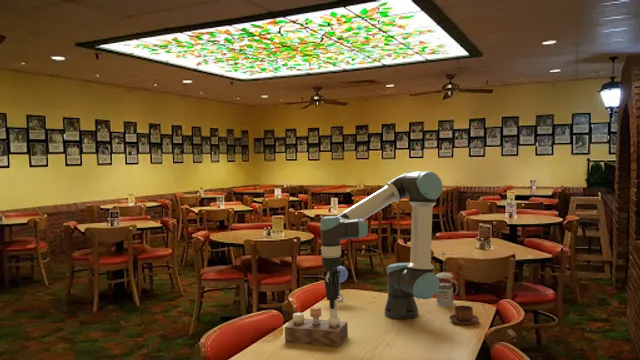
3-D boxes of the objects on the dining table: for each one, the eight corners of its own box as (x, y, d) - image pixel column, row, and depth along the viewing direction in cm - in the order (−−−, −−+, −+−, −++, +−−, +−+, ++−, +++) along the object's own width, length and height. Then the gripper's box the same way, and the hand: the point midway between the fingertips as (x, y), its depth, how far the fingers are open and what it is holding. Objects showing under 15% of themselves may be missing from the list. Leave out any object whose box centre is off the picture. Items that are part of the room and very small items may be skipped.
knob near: (341, 333, 192) (340, 315, 192) (338, 336, 188) (337, 318, 188) (331, 332, 194) (330, 314, 194) (327, 335, 190) (326, 318, 190)
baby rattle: (349, 298, 252) (347, 263, 252) (348, 303, 243) (347, 267, 243) (332, 298, 253) (331, 264, 252) (331, 303, 244) (329, 267, 244)
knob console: (347, 336, 196) (347, 321, 196) (338, 347, 184) (337, 331, 184) (297, 332, 203) (296, 317, 203) (285, 342, 192) (284, 327, 192)
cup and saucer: (480, 327, 201) (480, 312, 201) (450, 326, 203) (449, 311, 203) (477, 318, 213) (476, 304, 213) (448, 317, 215) (448, 303, 215)
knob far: (306, 330, 198) (305, 313, 198) (302, 333, 194) (301, 316, 193) (296, 329, 199) (295, 312, 199) (291, 332, 195) (291, 315, 195)
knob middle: (323, 324, 195) (322, 306, 195) (319, 327, 191) (318, 309, 191) (313, 323, 197) (312, 306, 196) (309, 326, 192) (308, 309, 192)
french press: (440, 300, 242) (438, 250, 242) (462, 303, 235) (460, 251, 234) (430, 305, 235) (429, 253, 234) (453, 308, 227) (452, 255, 227)
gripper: (327, 252, 198) (330, 310, 198) (316, 258, 186) (318, 320, 186) (345, 253, 195) (347, 312, 196) (335, 259, 183) (337, 322, 184)
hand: (333, 316), depth 191 cm, fingers closed
